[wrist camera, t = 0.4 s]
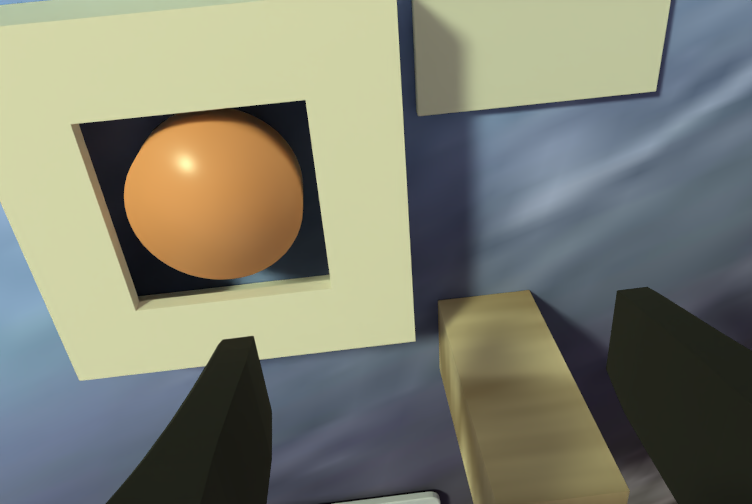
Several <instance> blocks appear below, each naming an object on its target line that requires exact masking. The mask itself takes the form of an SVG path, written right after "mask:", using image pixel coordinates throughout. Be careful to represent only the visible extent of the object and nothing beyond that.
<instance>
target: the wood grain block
mask: <svg viewBox="0 0 752 504" xmlns="http://www.w3.org/2000/svg"><path fill="white" fill-rule="evenodd" d="M438 324H439V358H440V372H441V376H442V380H443V384H444V388H445V392H446V396H447V400H448V404H449V408H450V412H451V415H452V419H453V423H454V427H455V431H456V435H457V439H458V443H459V447H460V451H461V455H462V459H463V463H464V467H465V471H466V475H467V479H468V483H469V487H470V491H471V495H472V499H473V502H474V504H627V501H628V496H629V492H630V491H629V489H628V487H627V485H626V483H625V481H624V479H623V477H622V475H621V473H620V471H619V469H618V467H617V465H616V463H615V461H614V459H613V457H612V455H611V453H610V451H609V449H608V447H607V445H606V443H605V441H604V439H603V437H602V435H601V433H600V431H599V429H598V427H597V425H596V423H595V421H594V419H593V417H592V415H591V413H590V411H589V409H588V407H587V405H586V403H585V401H584V399H583V397H582V395H581V393H580V391H579V389H578V387H577V385H576V383H575V381H574V379H573V377H572V375H571V373H570V371H569V369H568V367H567V365H566V363H565V361H564V359H563V357H562V355H561V353H560V351H559V349H558V347H557V345H556V343H555V341H554V339H553V337H552V335H551V333H550V331H549V329H548V327H547V325H546V323H545V321H544V319H543V317H542V315H541V313H540V311H539V309H538V307H537V305H536V303H535V301H534V299H533V297H532V295H531V293H530V291H529V290H526V291H517V292H508V293H500V294H491V295H482V296H474V297H465V298H457V299H448V300H439V301H438Z"/></svg>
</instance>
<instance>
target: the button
mask: <svg viewBox="0 0 752 504" xmlns="http://www.w3.org/2000/svg"><path fill="white" fill-rule="evenodd" d="M124 203H125V209H126V213H127V217H128V220H129V222H130V225H131V227H132V229H133V231H134V232H135V234H136V236H137V237H138V239H139V240H140V241H141V243H142V244H143V245H144V246H145V247H146V248H147V249H148V250H149V251H150V252H151V253H152V254H153V255H154V256H156V257H157V258H158V259H159V260H161V261H162V262H164V263H165V264H167V265H168V266H170V267H172V268H174V269H176V270H178V271H181V272H184V273H186V274H189V275H193V276H196V277H201V278H207V279H220V280H223V279H235V278H241V277H245V276H249V275H252V274H255V273H257V272H260V271H262V270H264V269H266V268H267V267H269V266H271V265H272V264H274V263H275V262H276V261H278V260H279V259H280V258H281V257H282V256H283V255H284V254H285V253H286V252H287V251H288V249H289V248H290V247H291V246H292V244H293V242H294V240H295V239H296V237H297V235H298V232H299V229H300V226H301V222H302V216H303V177H302V172H301V168H300V165H299V162H298V160H297V157H296V156H295V154H294V152H293V150H292V148H291V147H290V146H289V144H288V143H287V142H286V140H285V139H284V138H283V137H282V136H281V135H280V134H279V133H278V132H277V131H276V130H275V129H273V128H272V127H271V126H270V125H268V124H267V123H265V122H264V121H262V120H261V119H259V118H257V117H255V116H252V115H250V114H248V113H245V112H242V111H239V110H235V109H230V108H223V109H214V110H204V111H194V112H185V113H178V114H176V115H174V116H172V117H170V118H168V119H167V120H165V121H164V122H162V123H161V124H160V125H159V126H157V127H156V128H155V129H154V130H153V131H152V133H151V134H150V135H149V136H148V137H147V139H146V140H145V142H144V144H143V145H142V147H141V149H140V151H139V153H138V154H137V156H136V158H135V160H134V161H133V163H132V165H131V167H130V169H129V172H128V174H127V178H126V182H125V187H124Z"/></svg>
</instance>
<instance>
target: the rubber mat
mask: <svg viewBox="0 0 752 504" xmlns="http://www.w3.org/2000/svg"><path fill="white" fill-rule="evenodd" d="M670 2H671V0H412V19H413V42H414V65H415V88H416V111H417V114H418V116H426V115H435V114H445V113H454V112H464V111H473V110H483V109H492V108H502V107H511V106H521V105H530V104H540V103H549V102H559V101H568V100H578V99H587V98H597V97H606V96H616V95H625V94H635V93H644V92H654V91H656V88H657V82H658V76H659V70H660V64H661V57H662V51H663V45H664V39H665V33H666V27H667V21H668V14H669V8H670Z"/></svg>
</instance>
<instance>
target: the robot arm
mask: <svg viewBox="0 0 752 504" xmlns="http://www.w3.org/2000/svg"><path fill="white" fill-rule="evenodd" d="M606 369H607V372H608V374H609V377H610V379H611V382H612V384H613V387H614V389H615V392H616V394H617V397H618V399H619V401H620V403H621V406H622V408H623V410H624V413H625V414H626V416H627V418H628V420H629V422H630V423H631V425H632V427H633V429H634V430H635V432H636V434H637V435H638V437H639V439H640V441H641V442H642V444H643V446H644V447H645V449H646V451H647V453H648V454H649V456H650V458H651V459H652V461H653V463H654V464H655V466H656V468H657V469H658V471H659V473H660V474H661V476H662V478H663V480H664V481H665V483H666V485H667V486H668V488H669V490H670V491H671V493H672V495H673V496H674V498H675V500H676V501H677V503H678V504H752V351H751V350H749V349H748V348H746V347H744V346H743V345H741V344H739V343H737V342H736V341H734V340H733V339H731V338H729V337H728V336H726V335H724V334H723V333H721V332H719V331H718V330H716V329H715V328H713V327H711V326H710V325H708V324H707V323H705V322H704V321H702V320H700V319H699V318H697V317H696V316H694V315H692V314H691V313H689V312H688V311H686V310H685V309H683V308H681V307H680V306H678V305H677V304H675V303H673V302H672V301H670V300H669V299H667V298H665V297H664V296H662V295H661V294H659V293H657V292H655V291H654V290H652V289H650V288H648V287H643V288H634V289H626V290H618V291H617V295H616V302H615V309H614V316H613V323H612V330H611V337H610V344H609V352H608V359H607V366H606ZM271 460H272V410H271V406H270V402H269V398H268V393H267V389H266V385H265V381H264V377H263V373H262V368H261V364H260V360H259V356H258V352H257V348H256V343H255V339H254V336H247V337H239V338H231V339H223V340H222V341H221V342H220V343H219V344H218V346H217V347H216V349H215V351H214V353H213V354H212V356H211V358H210V360H209V361H208V363H207V365H206V366H205V368H204V370H203V371H202V373H201V375H200V376H199V378H198V380H197V381H196V383H195V385H194V386H193V388H192V390H191V391H190V393H189V394H188V396H187V397H186V399H185V400H184V402H183V403H182V405H181V406H180V408H179V409H178V411H177V412H176V414H175V416H174V417H173V419H172V420H171V421H170V423H169V424H168V426H167V427H166V429H165V430H164V431H163V433H162V434H161V435H160V437H159V438H158V439H157V441H156V442H155V444H154V445H153V446H152V448H151V449H150V450H149V452H148V453H147V454H146V456H145V457H144V458H143V460H142V461H141V462H140V464H139V465H138V466H137V467H136V469H135V470H134V471H133V472H132V474H131V475H130V476H129V477H128V478H127V480H126V481H125V482H124V483H123V484H122V486H121V487H120V488H119V489H118V490H117V491H116V492H115V494H114V495H113V496H112V497H111V498H110V499H109V500H108V502H107V503H106V504H266V503H267V495H268V486H269V478H270V469H271ZM333 504H440V498H439V495H438V494H437V493H435V492H432V491H428V492H420V493H412V494H404V495H396V496H388V497H380V498H372V499H365V500H357V501H349V502H341V503H333Z"/></svg>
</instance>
